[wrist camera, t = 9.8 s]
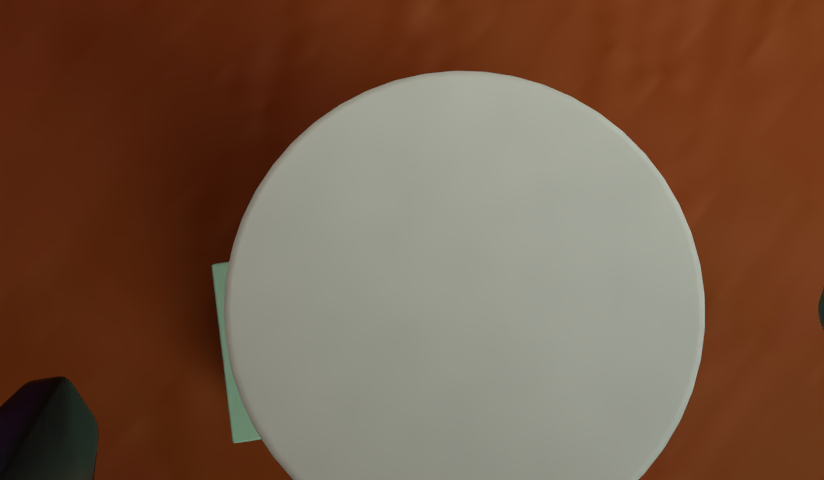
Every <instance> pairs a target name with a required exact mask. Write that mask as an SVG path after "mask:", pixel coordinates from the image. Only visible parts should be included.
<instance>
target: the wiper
mask: <svg viewBox="0 0 824 480" xmlns="http://www.w3.org/2000/svg"><path fill="white" fill-rule="evenodd" d="M212 275H213V283H214V291H215V300H216V308H217V316H218V325H219V333H220V341H221V350H222V358H223V366H224V375H225V383H226V391H227V400H228V408H229V416H230V425H231V433H232V441H233V443H240V442H246V441H253V440H259V439H262V440H263V442H264V443H265V445H266V447H267V448H268V450H269V451H270V453H271V454H272V456H273V457H274V458H275V459H276V460H277V462H278V463H279V464H280V465H281V466H282V467H283V469H284V470H285V471H286V472H287V473H288V474H289V476H290V477H291V478H292V479H293V480H638V479H639V478H641V477H642V476H643V475H644V473H645V472H646V471H647V470H648V468H649V467H650V466H651V465H652V463H653V462H654V461H655V459H656V458H657V457H658V456H659V454H660V453H661V452H662V450H663V449H664V448H665V446H666V444H667V442H668V441H669V439H670V437H671V436H672V434H673V432H674V431H675V429H676V427H677V425H678V424H679V422H680V420H681V418H682V415H683V413H684V410H685V408H686V406H687V403H688V401H689V398H690V396H691V393H692V391H693V387H694V384H695V380H696V376H697V372H698V368H699V365H700V361H701V354H702V346H703V338H704V330H705V296H704V289H703V281H702V274H701V267H700V262H699V259H698V255H697V251H696V248H695V244H694V241H693V237H692V234H691V231H690V229H689V227H688V224H687V222H686V219H685V217H684V215H683V212H682V210H681V208H680V205H679V203H678V202H677V200H676V198H675V197H674V195H673V193H672V191H671V190H670V188H669V186H668V185H667V183H666V181H665V180H664V178H663V177H662V175H661V174H660V173H659V171H658V170H657V169H656V167H655V166H654V165H653V164H652V162H651V161H650V160H649V158H648V157H647V156H646V155H645V153H644V152H643V151H642V150H641V149H640V148H639V147H638V146H637V145H636V144H635V143H634V142H633V141H632V140H631V139H630V138H629V137H628V136H627V135H626V134H625V133H624V132H623V131H622V130H620V129H619V128H618V127H616V126H615V125H614V124H613V123H611V122H610V121H609V120H607V119H606V118H605V117H603V116H602V115H601V114H600V113H598V112H597V111H595V110H593V109H592V108H590V107H588V106H586V105H585V104H583V103H581V102H580V101H578V100H576V99H575V98H573V97H571V96H569V95H566V94H564V93H562V92H559V91H557V90H555V89H552V88H550V87H548V86H545V85H543V84H539V83H536V82H532V81H529V80H525V79H522V78H518V77H515V76H509V75H502V74H496V73H489V72H476V71H448V72H438V73H428V74H421V75H417V76H413V77H408V78H404V79H399V80H395V81H392V82H389V83H387V84H384V85H381V86H379V87H376V88H373V89H370V90H368V91H365V92H363V93H361V94H360V95H358V96H356V97H354V98H352V99H350V100H348V101H346V102H344V103H342V104H340V105H339V106H337V107H336V108H334V109H333V110H331V111H330V112H328V113H327V114H326V115H324V116H323V117H321V118H320V119H318V120H317V121H315V122H314V123H313V124H312V125H311V126H310V127H309V128H308V129H306V130H305V131H304V132H303V133H302V134H301V135H300V136H299V137H297V138H296V139H295V140H294V141H293V142H292V143H291V144H290V145H289V147H288V148H287V149H286V150H285V151H284V152H283V154H282V155H281V156H280V157H279V158H278V159H277V160H276V162H275V163H274V164H273V165H272V167H271V168H270V170H269V171H268V173H267V174H266V176H265V177H264V179H263V180H262V182H261V183H260V185H259V186H258V188H257V189H256V191H255V193H254V195H253V197H252V199H251V201H250V203H249V205H248V207H247V209H246V211H245V213H244V215H243V217H242V220H241V223H240V226H239V229H238V232H237V235H236V238H235V241H234V243H233V246H232V251H231V256H230V261H229V262H224V263H218V264H213V265H212Z"/></svg>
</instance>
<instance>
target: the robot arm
mask: <svg viewBox="0 0 824 480" xmlns="http://www.w3.org/2000/svg"><path fill="white" fill-rule="evenodd" d="M819 318H820V322H821V324H822V327H823V329H824V289H823V292H822V295H821V298H820V302H819ZM97 446H98V426H97V423H96V420H95V418H94V416H93V414H92V413H91V411H90V410H89V408H88V407H87V405H86V404H85V402H84V401H83V399H82V398H81V396H80V395H79V393H78V392H77V390H76V388H75V387H74V385H73V384H72V383H71V381H70V380H68V379H67V378H65V377H60V376H58V377H51V378H45V379H39V380H33V381H30V382H28V383H26V384H25V385H23V386H22V387H21V388H20V389H19V390H18V391H17V392H16V393H15V394H13V395H12V396H11V397H10V398H9V399H8V400H7V401H6V402H5V403H4V404H3V405H2V406H1V407H0V480H94V472H95V463H96V455H97Z"/></svg>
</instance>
